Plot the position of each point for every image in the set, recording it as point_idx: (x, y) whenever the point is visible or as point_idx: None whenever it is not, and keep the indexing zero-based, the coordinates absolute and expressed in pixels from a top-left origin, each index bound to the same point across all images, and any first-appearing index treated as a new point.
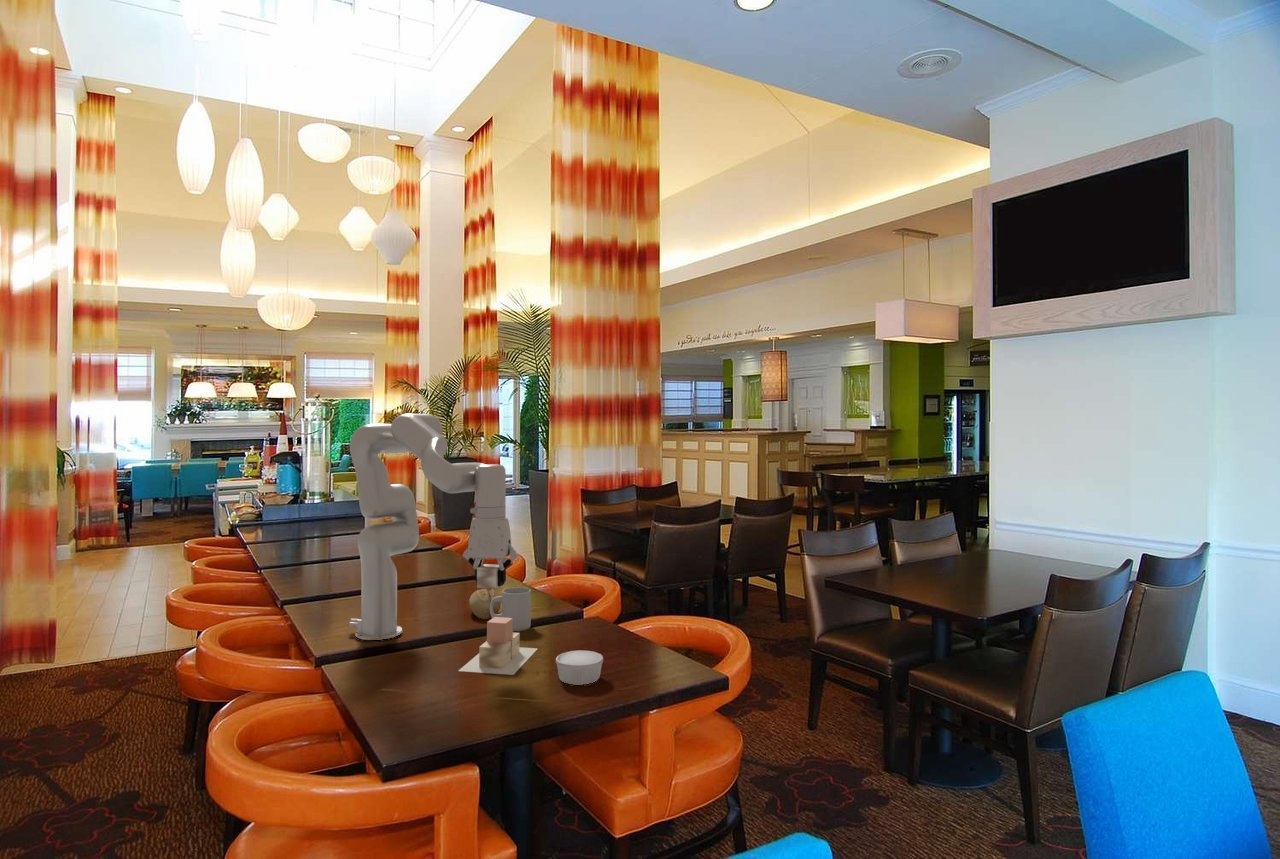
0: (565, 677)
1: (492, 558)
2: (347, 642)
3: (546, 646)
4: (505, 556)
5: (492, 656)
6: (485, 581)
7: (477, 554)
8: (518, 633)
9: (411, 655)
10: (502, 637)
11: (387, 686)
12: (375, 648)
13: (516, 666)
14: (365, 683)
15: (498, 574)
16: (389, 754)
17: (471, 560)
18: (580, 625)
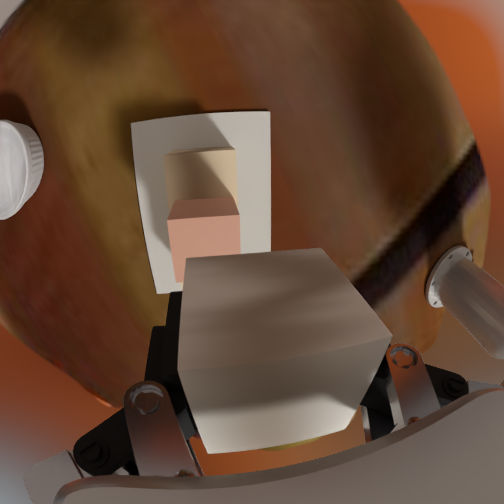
0: (19, 123)
1: (233, 481)
2: (473, 235)
3: (151, 312)
4: (58, 493)
5: (195, 150)
6: (273, 276)
7: (465, 442)
8: (181, 285)
9: (395, 196)
10: (183, 204)
11: (367, 33)
12: (446, 219)
13: (145, 174)
14: (405, 50)
15: (175, 346)
16: None
17: (450, 389)
18: None
